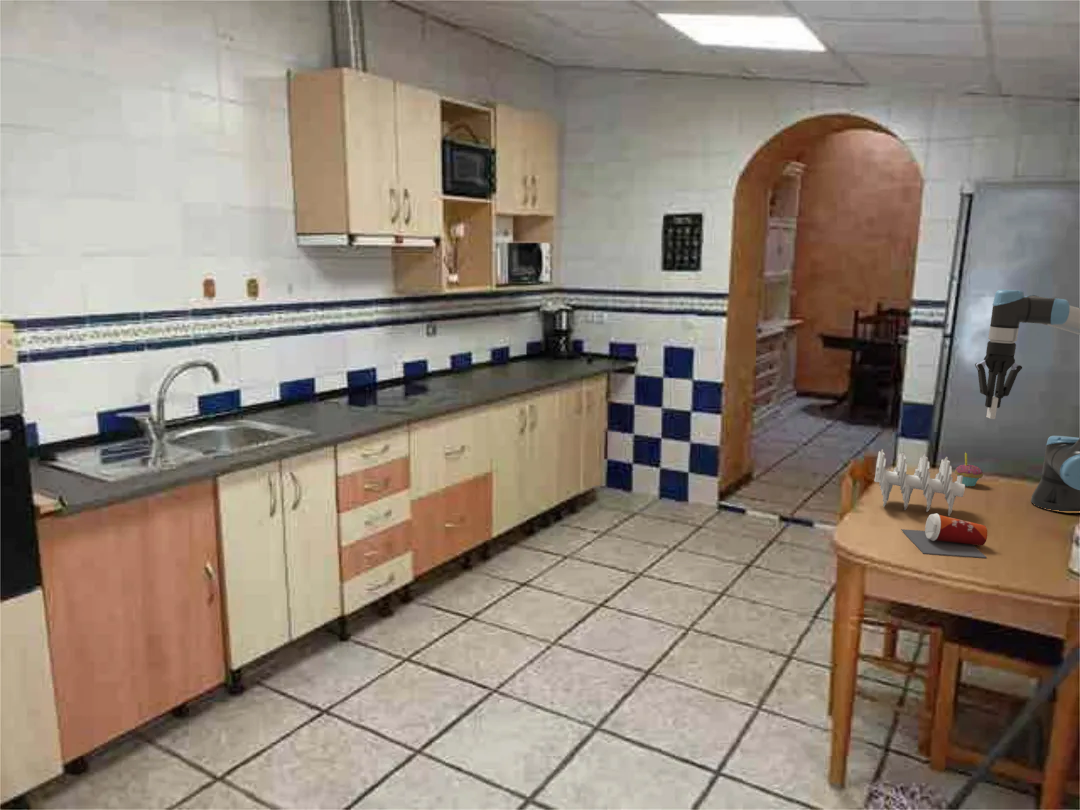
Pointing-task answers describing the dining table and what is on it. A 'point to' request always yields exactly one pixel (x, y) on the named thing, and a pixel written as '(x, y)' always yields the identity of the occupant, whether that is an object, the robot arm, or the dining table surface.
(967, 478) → the cupcake
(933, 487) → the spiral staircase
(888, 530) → the dining table surface
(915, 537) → the mat
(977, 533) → the paper cup
